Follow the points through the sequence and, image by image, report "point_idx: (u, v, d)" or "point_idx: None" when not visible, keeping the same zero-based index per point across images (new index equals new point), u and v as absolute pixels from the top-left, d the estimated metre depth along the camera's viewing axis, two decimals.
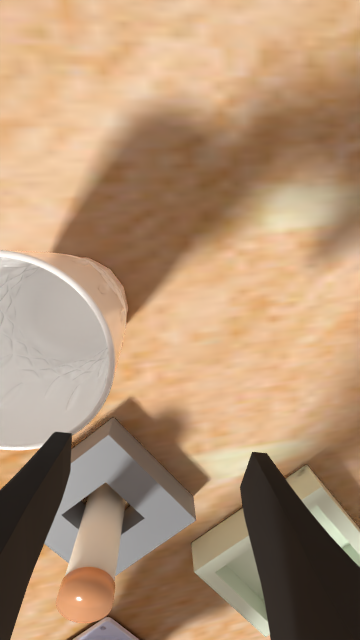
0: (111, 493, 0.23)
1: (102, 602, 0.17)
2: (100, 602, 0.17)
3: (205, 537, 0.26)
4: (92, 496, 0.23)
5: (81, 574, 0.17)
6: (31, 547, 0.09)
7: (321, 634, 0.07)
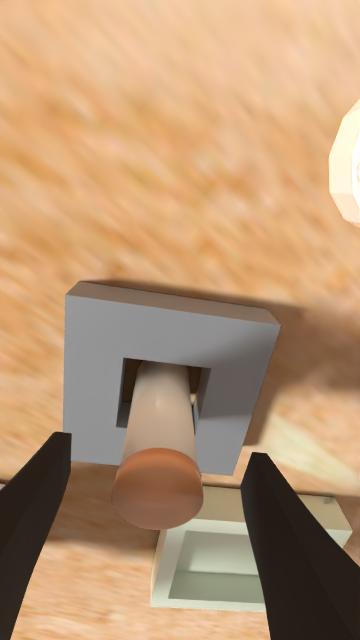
0: (188, 382, 0.16)
1: (175, 515, 0.11)
2: (174, 513, 0.11)
3: None
4: (167, 367, 0.16)
5: (188, 464, 0.10)
6: (31, 547, 0.09)
7: (321, 634, 0.07)
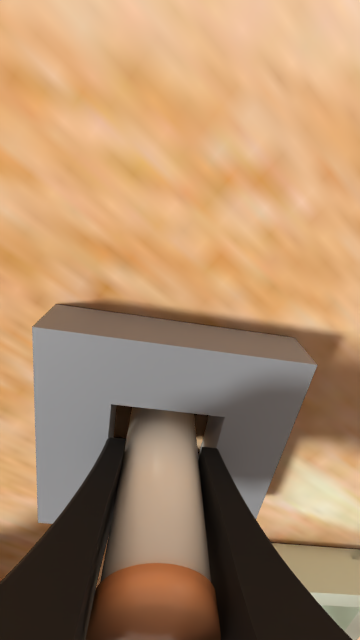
0: (194, 430, 0.13)
1: None
2: None
3: None
4: (167, 413, 0.12)
5: (198, 591, 0.07)
6: (100, 552, 0.09)
7: (235, 630, 0.07)
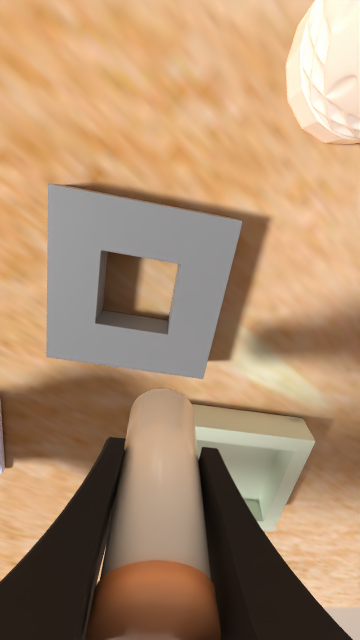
0: (193, 427, 0.13)
1: None
2: None
3: None
4: (166, 410, 0.12)
5: (196, 587, 0.07)
6: (100, 552, 0.09)
7: (235, 630, 0.07)
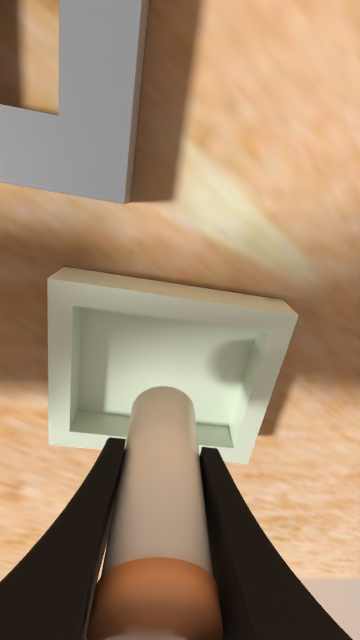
0: (193, 423, 0.13)
1: None
2: None
3: (90, 272, 0.16)
4: (164, 408, 0.12)
5: (194, 583, 0.07)
6: (100, 552, 0.09)
7: (235, 630, 0.07)
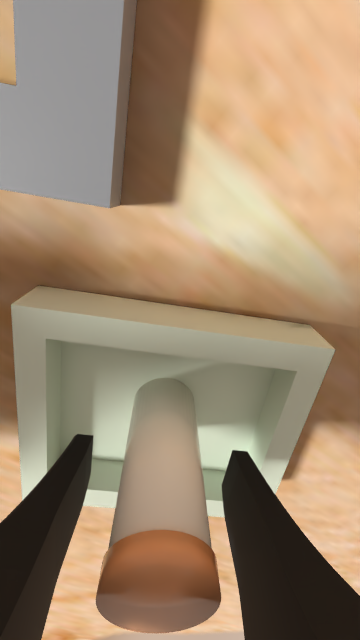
0: (193, 413, 0.13)
1: (185, 616, 0.08)
2: (183, 613, 0.08)
3: (71, 293, 0.13)
4: (166, 398, 0.13)
5: (195, 552, 0.08)
6: (59, 549, 0.09)
7: (287, 632, 0.07)
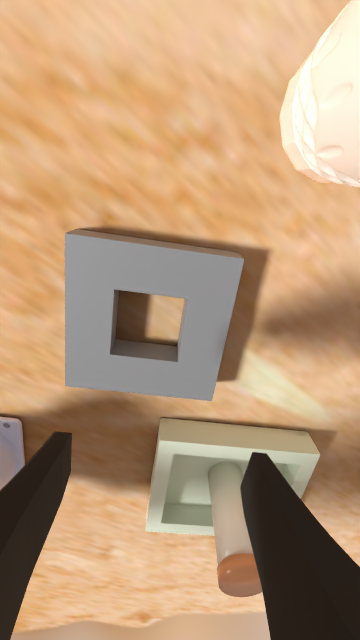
0: None
1: (254, 589, 0.19)
2: (253, 588, 0.19)
3: (179, 422, 0.24)
4: (230, 477, 0.24)
5: None
6: (31, 547, 0.09)
7: (321, 634, 0.07)
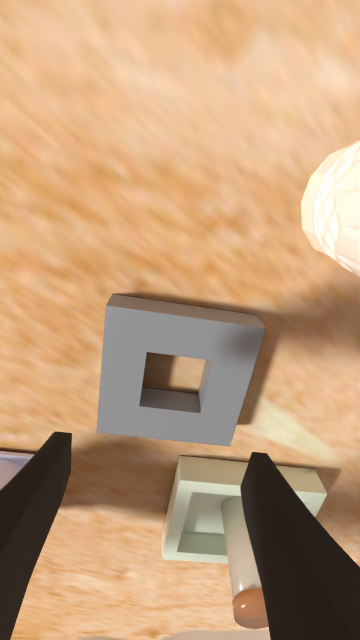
0: None
1: (266, 622, 0.21)
2: (265, 620, 0.21)
3: (196, 460, 0.26)
4: (242, 512, 0.26)
5: None
6: (31, 547, 0.09)
7: (321, 634, 0.07)
